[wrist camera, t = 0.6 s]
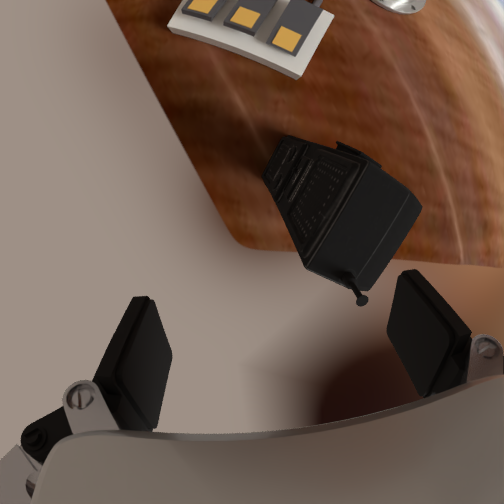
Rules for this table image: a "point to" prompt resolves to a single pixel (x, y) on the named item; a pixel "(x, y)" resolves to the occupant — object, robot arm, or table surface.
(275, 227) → the table surface
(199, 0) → the rocker far end
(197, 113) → the table surface
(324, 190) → the portable radio
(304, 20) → the rocker near arm
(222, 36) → the rocker switch panel
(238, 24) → the rocker middle
